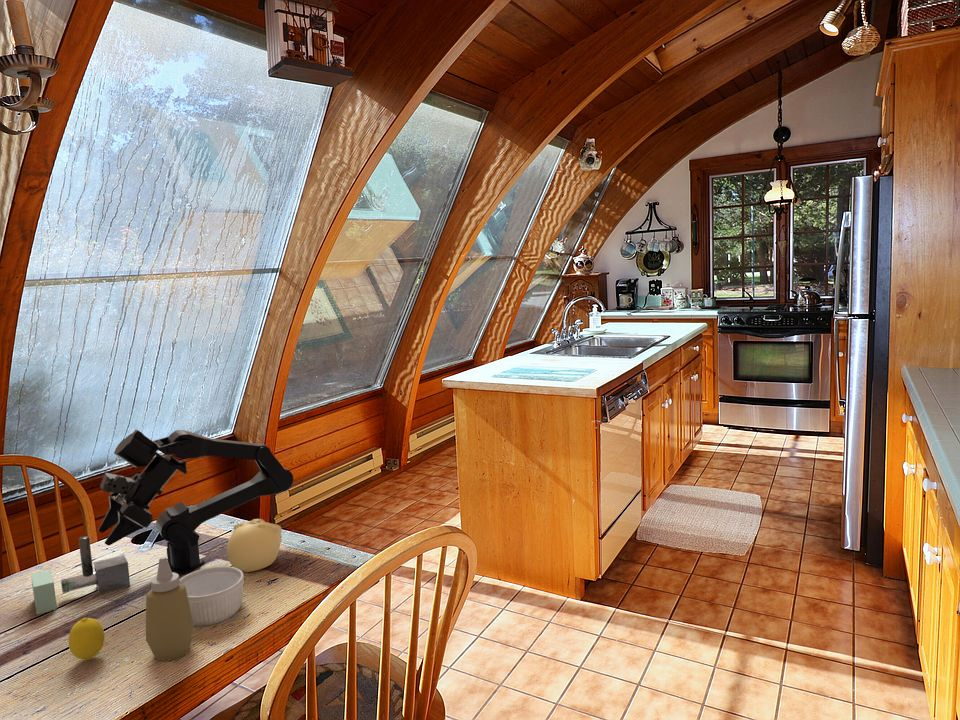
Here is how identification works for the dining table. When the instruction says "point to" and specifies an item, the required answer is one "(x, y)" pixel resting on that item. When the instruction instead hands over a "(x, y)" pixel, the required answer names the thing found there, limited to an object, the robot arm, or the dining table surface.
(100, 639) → the lemon
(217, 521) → the dining table surface
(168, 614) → the squeeze bottle
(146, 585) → the dining table surface
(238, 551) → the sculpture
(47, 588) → the socket block
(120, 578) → the grey cubic block
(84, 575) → the dark grey l-shaped piece
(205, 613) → the ramekin
